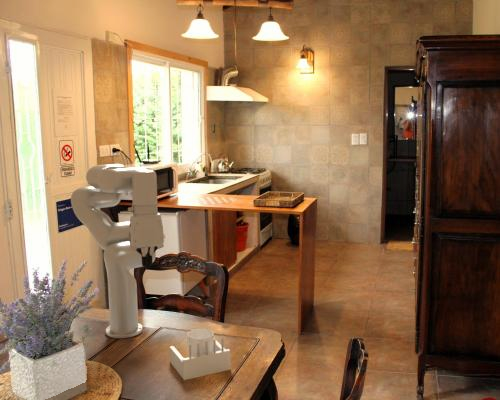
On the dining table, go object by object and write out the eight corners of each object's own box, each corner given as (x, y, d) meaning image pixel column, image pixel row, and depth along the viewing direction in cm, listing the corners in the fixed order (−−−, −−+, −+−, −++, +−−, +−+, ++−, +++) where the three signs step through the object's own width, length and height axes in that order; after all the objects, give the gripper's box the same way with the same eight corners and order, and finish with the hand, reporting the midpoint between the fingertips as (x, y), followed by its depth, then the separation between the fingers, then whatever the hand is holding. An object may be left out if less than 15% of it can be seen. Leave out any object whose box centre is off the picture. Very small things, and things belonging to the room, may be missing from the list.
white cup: (213, 371, 159) (212, 338, 158) (186, 371, 159) (185, 339, 158) (214, 359, 167) (214, 328, 166) (189, 359, 167) (188, 328, 165)
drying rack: (170, 362, 165) (169, 330, 164) (213, 352, 171) (213, 322, 170) (184, 380, 154) (183, 346, 152) (230, 369, 160) (230, 337, 159)
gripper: (123, 214, 161) (126, 273, 164) (172, 209, 167) (173, 267, 170) (118, 210, 167) (120, 267, 170) (164, 206, 174) (166, 261, 177)
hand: (147, 267), depth 170 cm, fingers closed
